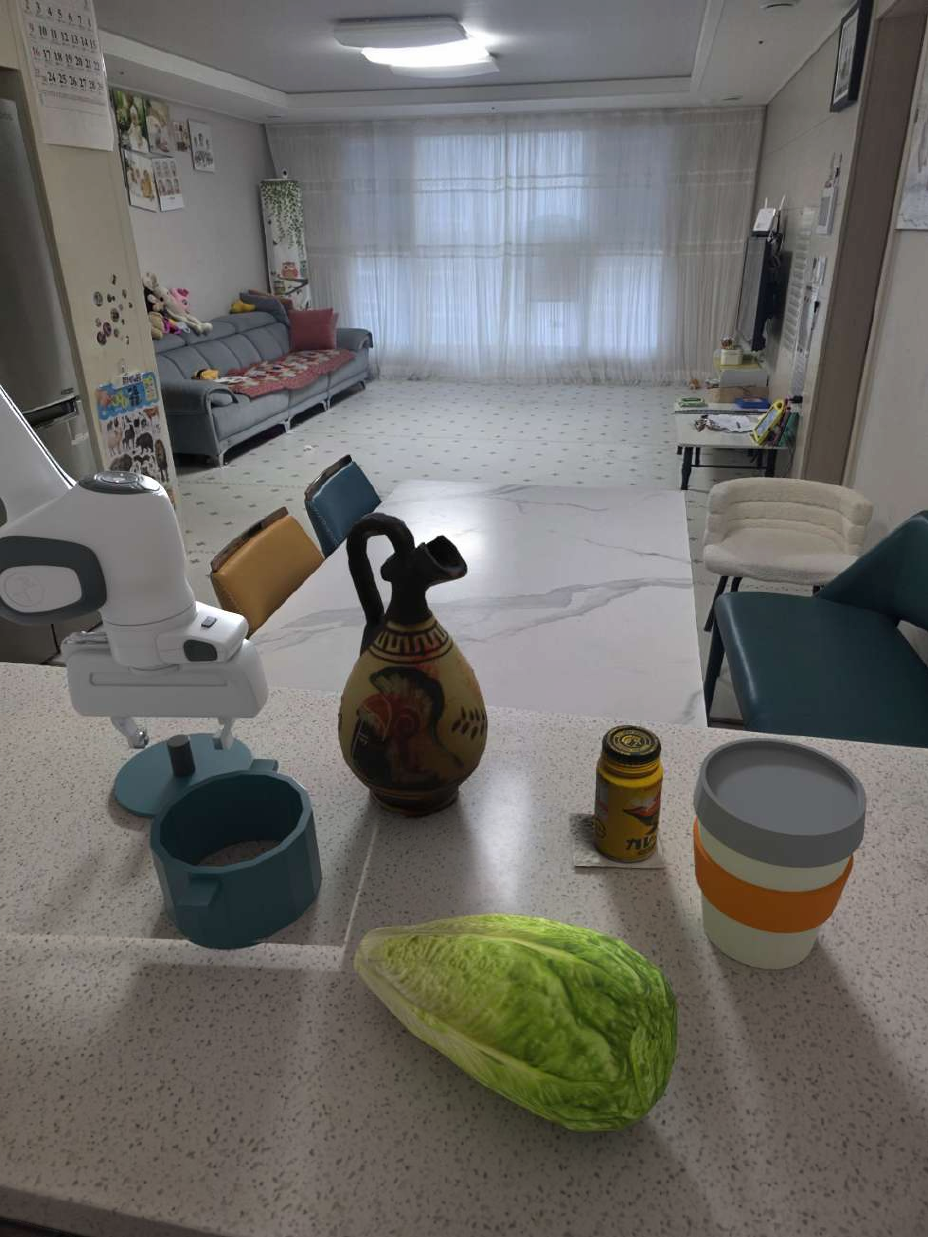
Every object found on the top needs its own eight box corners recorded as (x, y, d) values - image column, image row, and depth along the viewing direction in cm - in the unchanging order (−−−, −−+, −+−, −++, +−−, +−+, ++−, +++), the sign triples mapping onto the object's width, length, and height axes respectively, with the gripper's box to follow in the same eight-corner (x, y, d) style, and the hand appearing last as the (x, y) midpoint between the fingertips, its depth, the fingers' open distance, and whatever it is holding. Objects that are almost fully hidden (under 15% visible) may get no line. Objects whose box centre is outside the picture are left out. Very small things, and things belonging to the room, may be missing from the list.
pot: (129, 972, 67) (105, 895, 64) (211, 819, 84) (196, 751, 81) (291, 980, 66) (277, 901, 62) (341, 823, 83) (333, 754, 79)
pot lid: (90, 821, 85) (78, 781, 82) (150, 739, 98) (141, 702, 96) (229, 825, 83) (220, 784, 81) (271, 742, 97) (265, 704, 94)
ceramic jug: (513, 765, 91) (511, 506, 78) (446, 853, 79) (430, 564, 66) (383, 729, 98) (361, 486, 85) (303, 805, 86) (263, 535, 73)
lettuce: (414, 863, 70) (330, 873, 59) (703, 951, 59) (666, 984, 48) (384, 1008, 69) (292, 1046, 58) (675, 1126, 58) (630, 1202, 47)
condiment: (665, 869, 76) (675, 762, 71) (573, 867, 77) (576, 761, 71) (654, 817, 82) (663, 716, 77) (569, 815, 83) (572, 715, 78)
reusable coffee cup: (853, 998, 63) (891, 846, 56) (684, 977, 65) (702, 829, 59) (820, 880, 74) (849, 742, 67) (676, 866, 76) (691, 730, 70)
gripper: (39, 647, 81) (75, 762, 87) (242, 647, 79) (263, 765, 85) (72, 618, 86) (103, 728, 92) (262, 618, 84) (281, 730, 90)
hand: (181, 746), depth 89 cm, fingers open, 8 cm apart
